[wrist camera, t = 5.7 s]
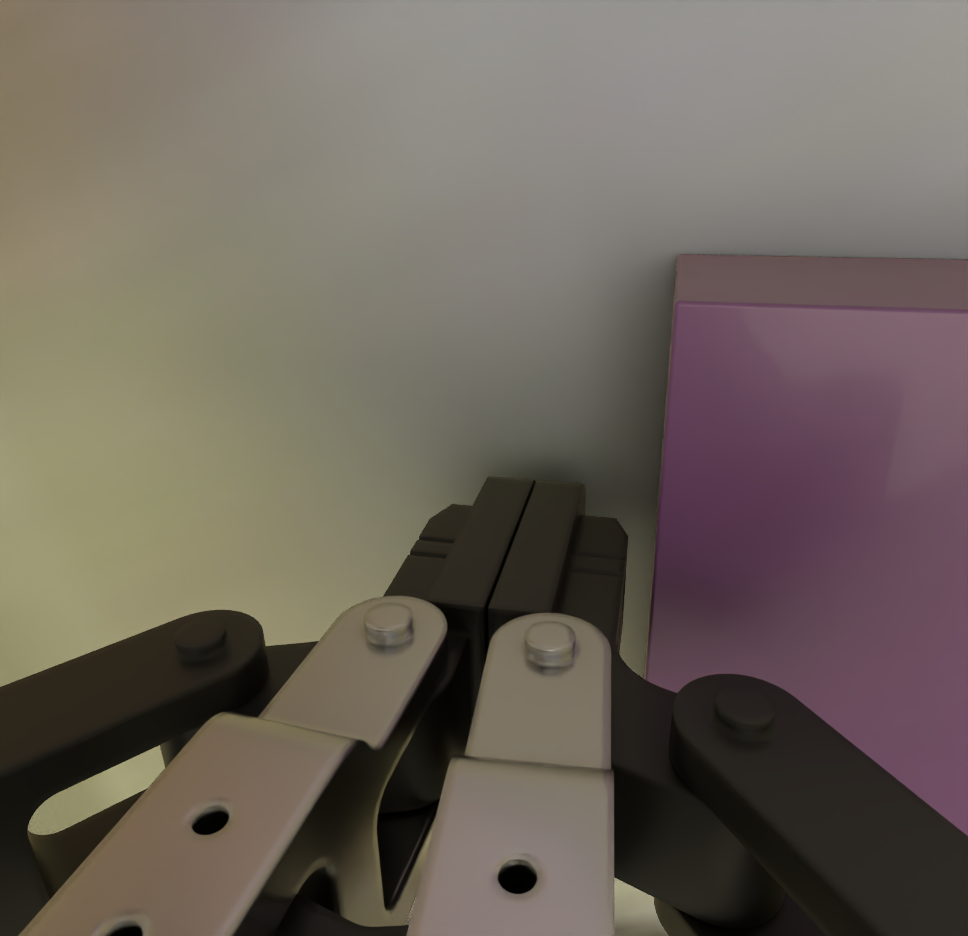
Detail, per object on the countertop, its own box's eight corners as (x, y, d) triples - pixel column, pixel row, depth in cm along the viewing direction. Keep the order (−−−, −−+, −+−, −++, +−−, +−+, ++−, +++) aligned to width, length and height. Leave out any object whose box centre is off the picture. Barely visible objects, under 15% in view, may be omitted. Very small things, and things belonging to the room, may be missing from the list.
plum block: (677, 253, 11) (675, 300, 9) (1076, 260, 10) (1212, 317, 8) (642, 700, 15) (632, 833, 12) (941, 740, 14) (1002, 895, 11)
